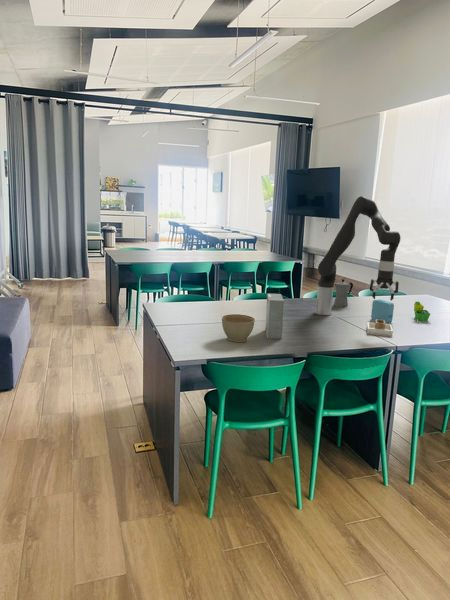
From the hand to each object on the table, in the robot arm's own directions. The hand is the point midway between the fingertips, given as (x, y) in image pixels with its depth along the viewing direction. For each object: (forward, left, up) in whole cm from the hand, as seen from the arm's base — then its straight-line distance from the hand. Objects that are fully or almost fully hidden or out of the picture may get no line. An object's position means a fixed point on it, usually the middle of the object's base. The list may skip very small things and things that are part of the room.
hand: (382, 299), depth 244 cm
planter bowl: (-68, -44, -18) cm, 83 cm away
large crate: (0, 0, -18) cm, 18 cm away
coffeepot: (-22, +59, -18) cm, 66 cm away
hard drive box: (-53, -28, -18) cm, 62 cm away
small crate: (0, 0, -17) cm, 17 cm away
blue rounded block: (+2, +25, -18) cm, 31 cm away
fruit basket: (+25, +39, -18) cm, 50 cm away
